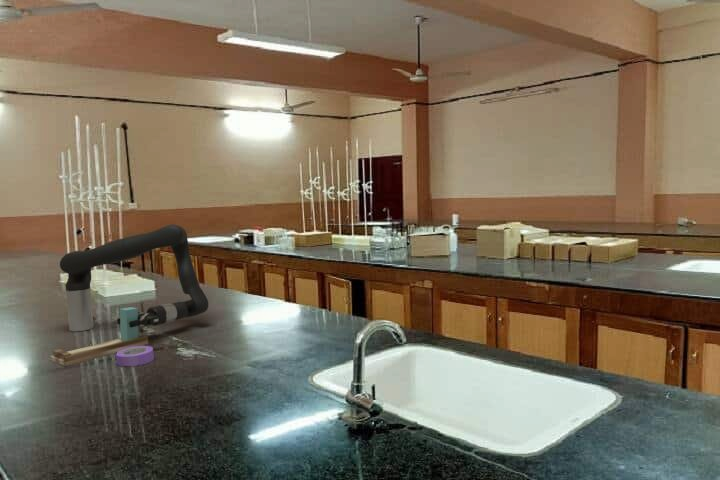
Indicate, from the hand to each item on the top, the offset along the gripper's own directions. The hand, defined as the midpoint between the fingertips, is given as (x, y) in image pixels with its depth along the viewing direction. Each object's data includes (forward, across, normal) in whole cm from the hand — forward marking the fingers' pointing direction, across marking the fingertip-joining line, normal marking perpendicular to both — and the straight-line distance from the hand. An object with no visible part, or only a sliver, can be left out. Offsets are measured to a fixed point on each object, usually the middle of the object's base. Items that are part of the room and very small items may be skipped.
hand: (123, 323), depth 202 cm
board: (+9, 0, +8) cm, 12 cm away
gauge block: (-2, 0, +7) cm, 7 cm away
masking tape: (+8, +21, +9) cm, 24 cm away
